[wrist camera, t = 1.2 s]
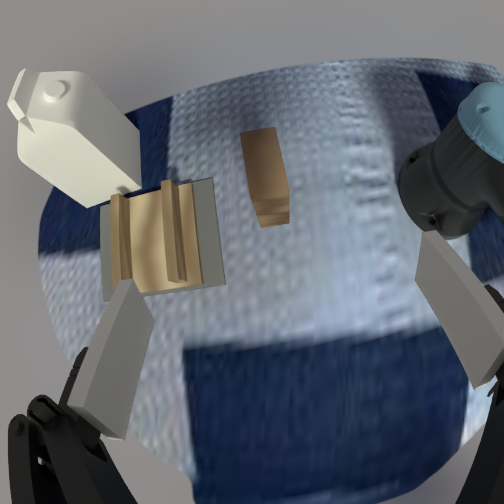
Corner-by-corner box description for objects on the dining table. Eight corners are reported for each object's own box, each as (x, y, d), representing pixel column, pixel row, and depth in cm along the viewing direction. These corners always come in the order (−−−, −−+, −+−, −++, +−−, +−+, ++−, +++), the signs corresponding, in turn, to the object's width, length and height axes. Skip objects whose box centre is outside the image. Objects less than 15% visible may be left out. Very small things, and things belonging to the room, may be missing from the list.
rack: (193, 185, 44) (183, 172, 40) (203, 283, 41) (193, 280, 37) (114, 205, 45) (100, 195, 41) (118, 296, 42) (102, 294, 38)
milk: (88, 152, 49) (1, 77, 24) (139, 131, 48) (61, 34, 23) (86, 208, 46) (-23, 143, 21) (141, 188, 46) (38, 96, 20)
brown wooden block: (279, 172, 43) (275, 126, 32) (289, 223, 42) (289, 189, 30) (252, 177, 44) (239, 133, 32) (261, 228, 42) (250, 196, 30)
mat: (212, 178, 44) (211, 178, 44) (225, 284, 41) (225, 284, 41) (101, 207, 46) (100, 206, 46) (104, 301, 43) (103, 301, 42)
